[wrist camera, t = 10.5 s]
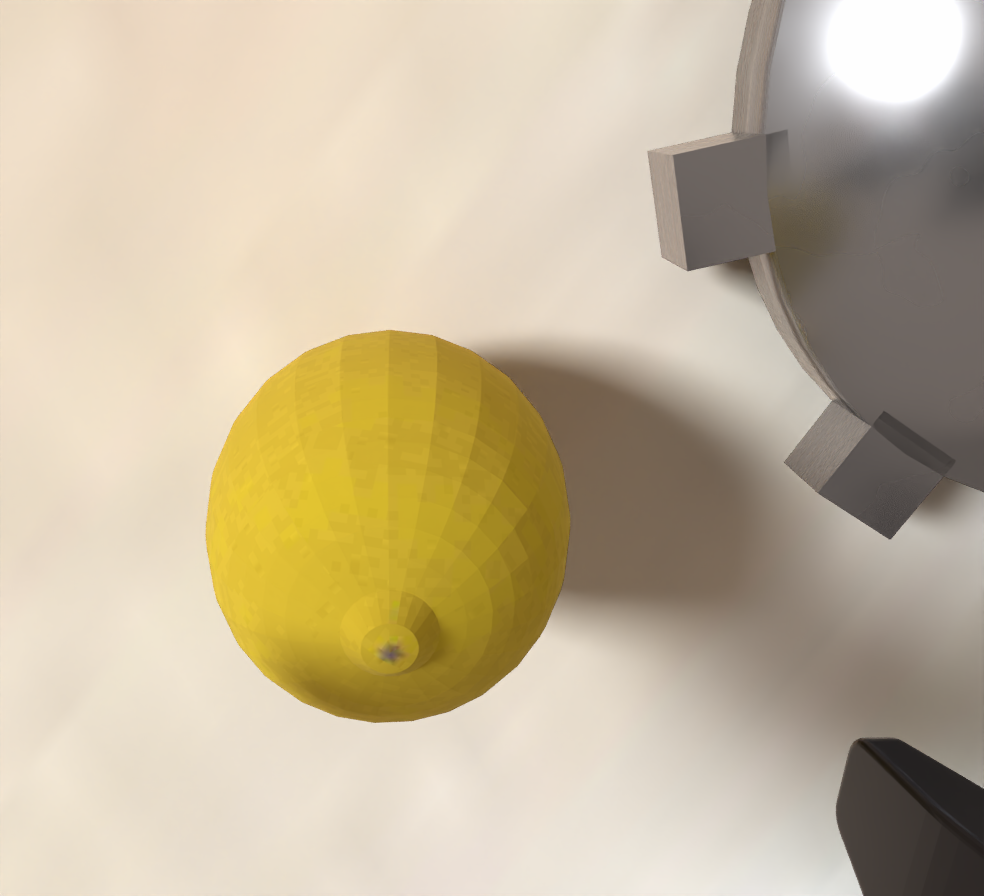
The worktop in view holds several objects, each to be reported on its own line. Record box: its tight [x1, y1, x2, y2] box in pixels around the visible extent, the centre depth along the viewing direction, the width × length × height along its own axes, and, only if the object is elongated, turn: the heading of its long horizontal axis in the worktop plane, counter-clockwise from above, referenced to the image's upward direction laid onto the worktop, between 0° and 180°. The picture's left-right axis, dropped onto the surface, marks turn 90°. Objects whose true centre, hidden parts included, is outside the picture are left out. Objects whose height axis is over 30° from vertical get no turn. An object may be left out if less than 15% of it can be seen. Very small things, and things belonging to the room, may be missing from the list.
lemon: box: [206, 330, 570, 723], centre depth 14 cm, size 6×6×8 cm
